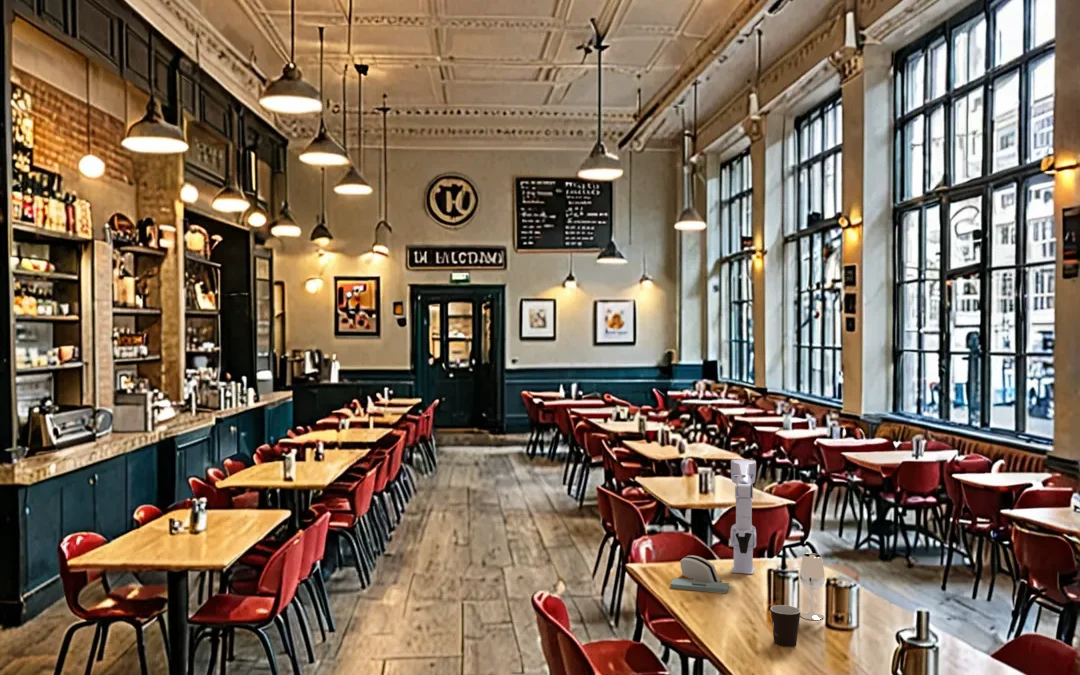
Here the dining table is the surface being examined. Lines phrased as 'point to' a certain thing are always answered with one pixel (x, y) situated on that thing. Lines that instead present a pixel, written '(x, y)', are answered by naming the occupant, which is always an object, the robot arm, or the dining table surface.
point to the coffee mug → (785, 625)
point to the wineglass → (812, 580)
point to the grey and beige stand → (699, 569)
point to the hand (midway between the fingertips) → (743, 553)
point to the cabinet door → (699, 585)
